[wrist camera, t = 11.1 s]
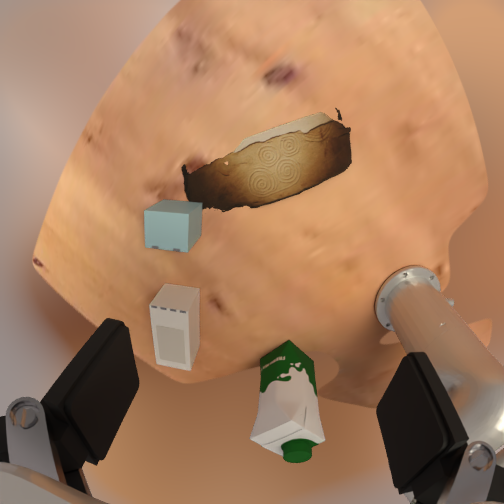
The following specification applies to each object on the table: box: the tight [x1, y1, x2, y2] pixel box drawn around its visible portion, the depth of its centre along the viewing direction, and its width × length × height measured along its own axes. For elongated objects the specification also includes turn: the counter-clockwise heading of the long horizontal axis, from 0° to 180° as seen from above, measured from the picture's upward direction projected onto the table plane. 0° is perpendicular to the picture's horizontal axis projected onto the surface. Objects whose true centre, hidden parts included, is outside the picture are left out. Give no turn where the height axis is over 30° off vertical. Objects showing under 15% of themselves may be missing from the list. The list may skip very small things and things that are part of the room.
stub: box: [144, 200, 202, 252], centre depth 39 cm, size 6×5×7 cm
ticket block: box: [149, 283, 200, 371], centre depth 45 cm, size 6×12×7 cm, turn 175°
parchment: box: [182, 108, 352, 212], centre depth 38 cm, size 25×10×1 cm, turn 111°
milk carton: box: [250, 340, 325, 463], centre depth 41 cm, size 9×9×20 cm
